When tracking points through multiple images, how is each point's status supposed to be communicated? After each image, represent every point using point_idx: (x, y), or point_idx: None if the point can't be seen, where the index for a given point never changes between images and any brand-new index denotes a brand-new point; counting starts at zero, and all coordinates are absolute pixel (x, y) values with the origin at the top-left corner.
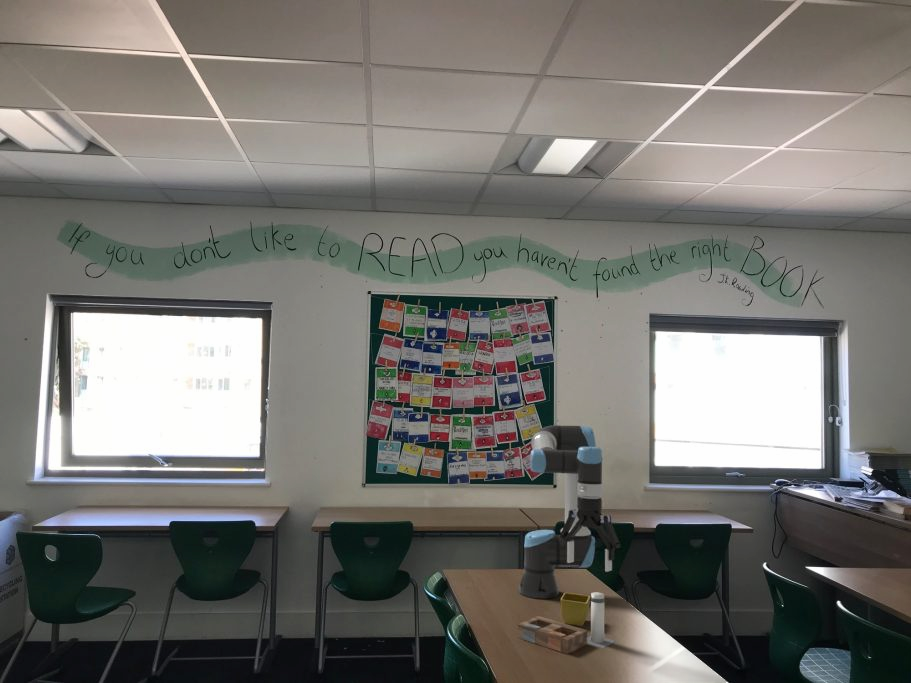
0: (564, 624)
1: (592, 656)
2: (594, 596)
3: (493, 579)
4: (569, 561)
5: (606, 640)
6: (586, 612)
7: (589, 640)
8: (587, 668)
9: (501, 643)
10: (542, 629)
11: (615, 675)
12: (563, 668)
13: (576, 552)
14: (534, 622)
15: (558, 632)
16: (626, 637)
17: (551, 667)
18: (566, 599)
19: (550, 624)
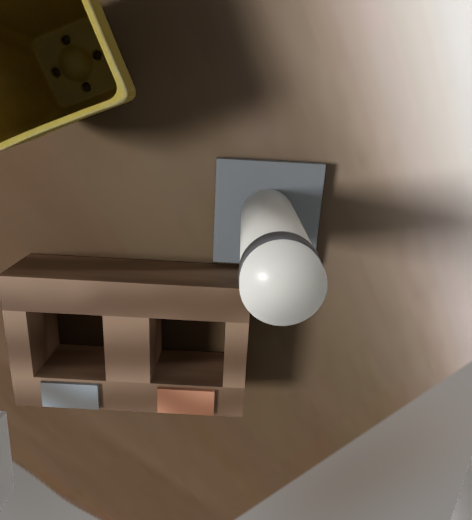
0: (142, 291)
1: None
2: (279, 323)
3: None
4: (5, 495)
5: (292, 184)
6: (127, 74)
7: (240, 231)
8: (328, 407)
9: (24, 414)
10: (115, 391)
11: (415, 398)
12: (272, 446)
13: None
14: (31, 329)
15: (182, 390)
16: (329, 42)
17: (242, 460)
18: None
19: (93, 312)
